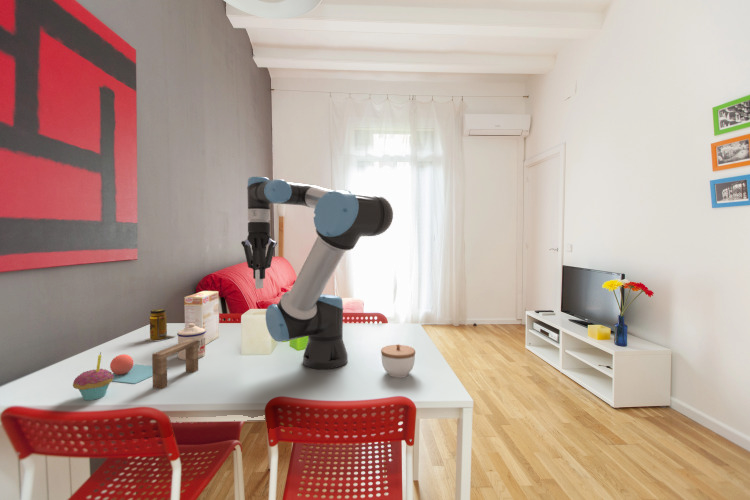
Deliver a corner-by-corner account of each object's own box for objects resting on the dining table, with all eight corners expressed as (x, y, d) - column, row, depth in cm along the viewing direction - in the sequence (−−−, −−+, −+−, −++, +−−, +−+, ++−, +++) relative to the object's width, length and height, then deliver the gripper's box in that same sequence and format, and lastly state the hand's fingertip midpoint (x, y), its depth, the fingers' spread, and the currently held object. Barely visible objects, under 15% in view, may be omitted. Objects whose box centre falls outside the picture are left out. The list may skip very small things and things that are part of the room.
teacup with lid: (197, 361, 128) (196, 327, 127) (171, 360, 128) (171, 326, 128) (214, 350, 139) (214, 319, 139) (191, 349, 140) (191, 318, 140)
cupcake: (120, 390, 104) (119, 347, 103) (99, 403, 95) (98, 357, 95) (89, 390, 103) (88, 347, 103) (64, 404, 95) (63, 357, 94)
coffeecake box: (203, 336, 158) (203, 290, 157) (220, 336, 158) (219, 290, 157) (184, 347, 143) (183, 296, 142) (202, 347, 143) (201, 296, 142)
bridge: (198, 370, 119) (198, 340, 119) (161, 388, 105) (161, 354, 104) (190, 369, 120) (189, 339, 119) (152, 387, 105) (152, 353, 105)
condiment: (145, 339, 153) (144, 310, 152) (165, 334, 160) (164, 307, 160) (156, 342, 149) (155, 312, 149) (176, 337, 157) (175, 308, 156)
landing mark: (169, 368, 120) (169, 367, 120) (135, 384, 108) (135, 383, 108) (135, 364, 123) (135, 364, 123) (98, 379, 111) (98, 379, 111)
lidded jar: (375, 370, 121) (376, 341, 120) (405, 366, 124) (406, 338, 124) (388, 382, 111) (389, 351, 110) (420, 378, 114) (421, 347, 114)
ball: (129, 374, 118) (141, 363, 117) (112, 381, 112) (124, 370, 111) (119, 359, 119) (131, 348, 118) (101, 365, 113) (114, 353, 112)
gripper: (236, 221, 129) (236, 288, 130) (270, 221, 126) (270, 290, 127) (248, 221, 137) (248, 285, 138) (280, 222, 134) (281, 287, 135)
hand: (259, 288), depth 133 cm, fingers closed
